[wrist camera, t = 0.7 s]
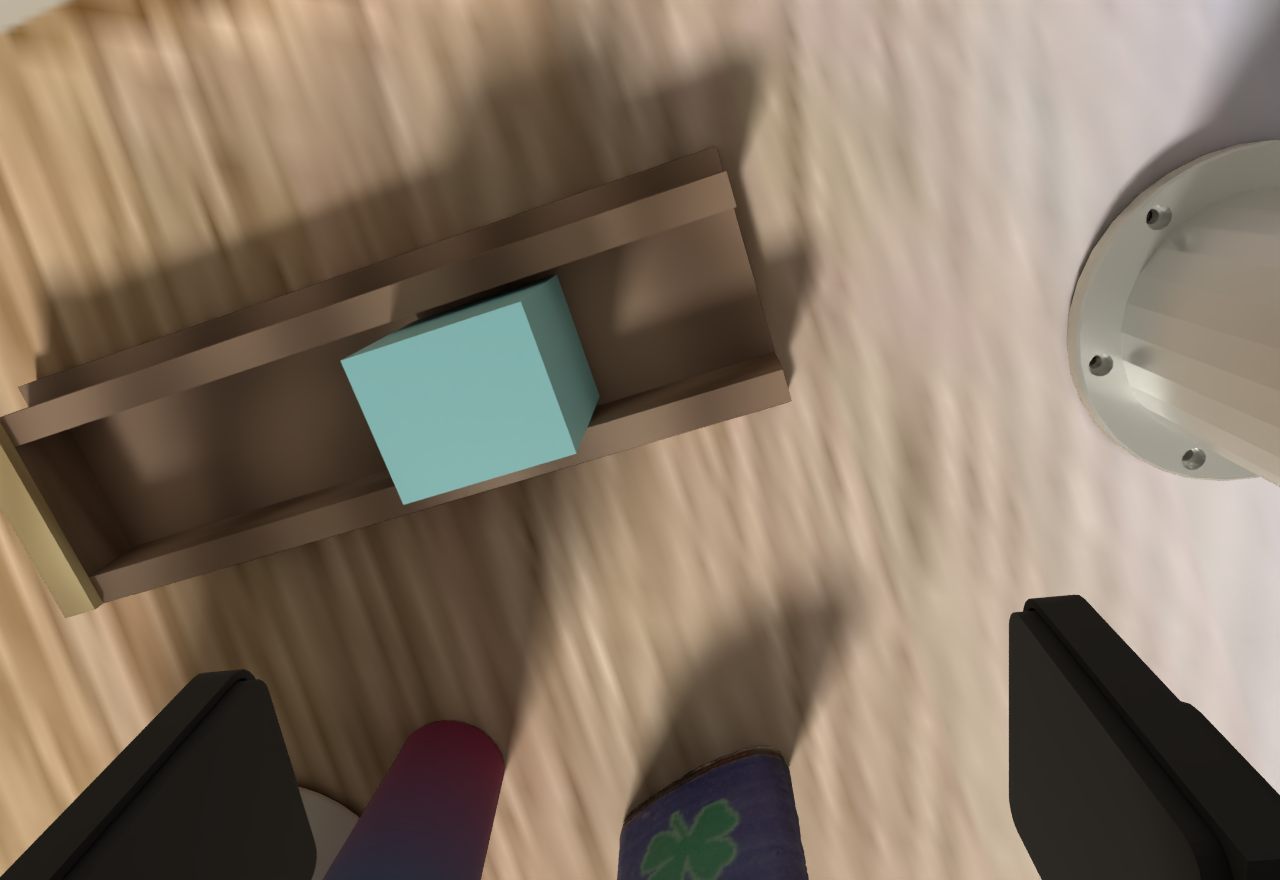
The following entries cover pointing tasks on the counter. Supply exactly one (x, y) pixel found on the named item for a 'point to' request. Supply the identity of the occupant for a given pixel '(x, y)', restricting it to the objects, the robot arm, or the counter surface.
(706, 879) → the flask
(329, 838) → the cylinder vase
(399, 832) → the cup
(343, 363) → the block
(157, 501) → the chute
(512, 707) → the counter surface
